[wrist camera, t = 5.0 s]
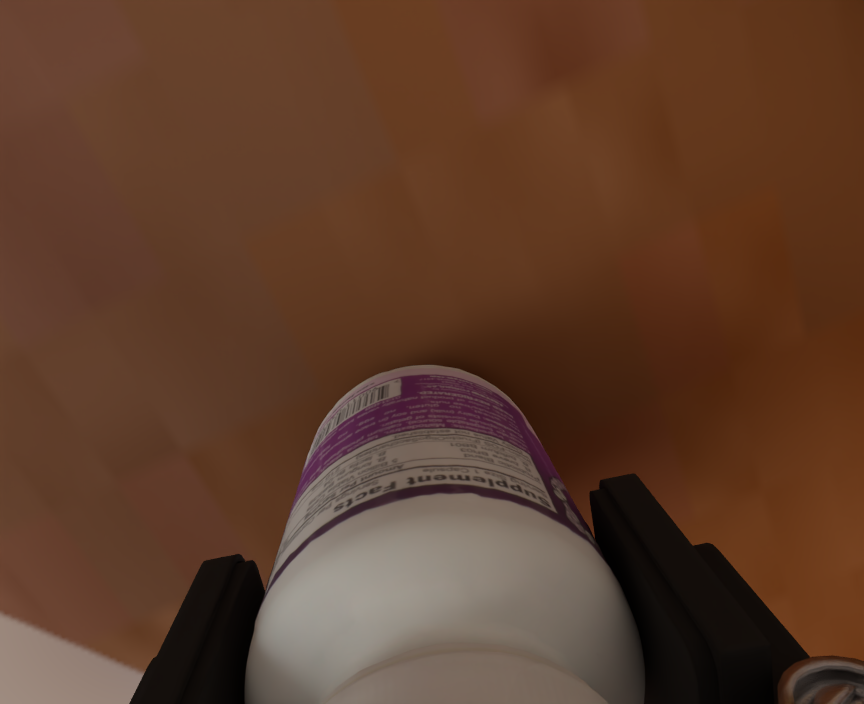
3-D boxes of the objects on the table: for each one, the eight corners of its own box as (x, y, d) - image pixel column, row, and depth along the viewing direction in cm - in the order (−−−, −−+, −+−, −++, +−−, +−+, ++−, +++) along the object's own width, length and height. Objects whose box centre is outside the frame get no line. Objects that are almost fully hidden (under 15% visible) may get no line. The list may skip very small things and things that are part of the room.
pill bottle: (531, 564, 16) (723, 1112, 7) (314, 570, 16) (198, 1150, 6) (543, 354, 15) (809, 679, 5) (304, 356, 14) (135, 703, 5)
